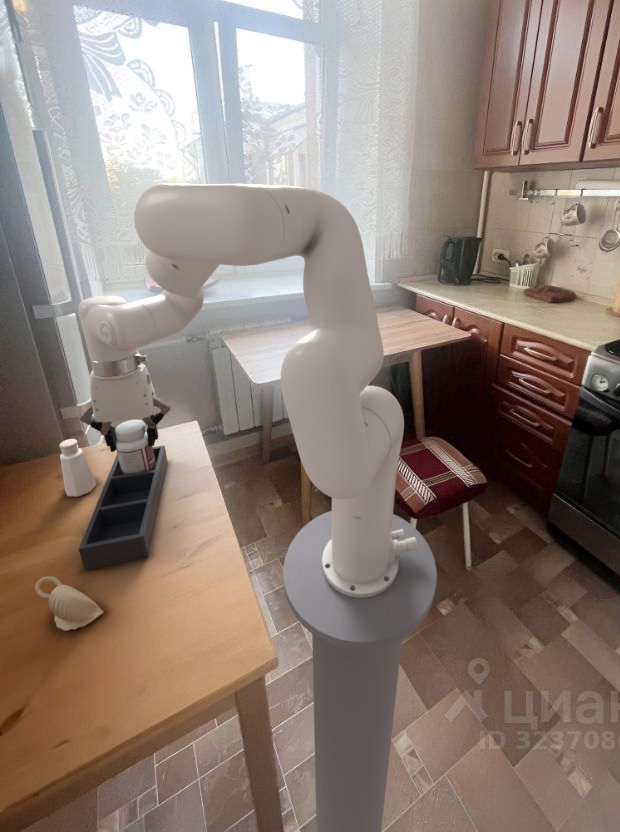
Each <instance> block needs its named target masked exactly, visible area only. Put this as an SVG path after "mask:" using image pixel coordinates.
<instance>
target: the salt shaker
mask: <svg viewBox="0 0 620 832" xmlns="http://www.w3.org/2000/svg"><path fill="white" fill-rule="evenodd" d="M58 446H59V449H60V451H61V454H60V455H59V459H60V465H61V472H62V479H63V485H64V490H65V494H66V496H67V497H76V498H78V497H81V496H84V495H85V494H88V493H90V492H91V491H92V490H93V489H95V488H96V486H97V482H96V479H95V477H94V475H93V473H92V470H91V468H90V466H89V464H88V461H87V458H86V456H85V454H84V452H83V450H82V448H79V445H78V440H77V439H76V438H69V439H66V440H63V441H61V442H60V444H59V445H58Z"/></svg>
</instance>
